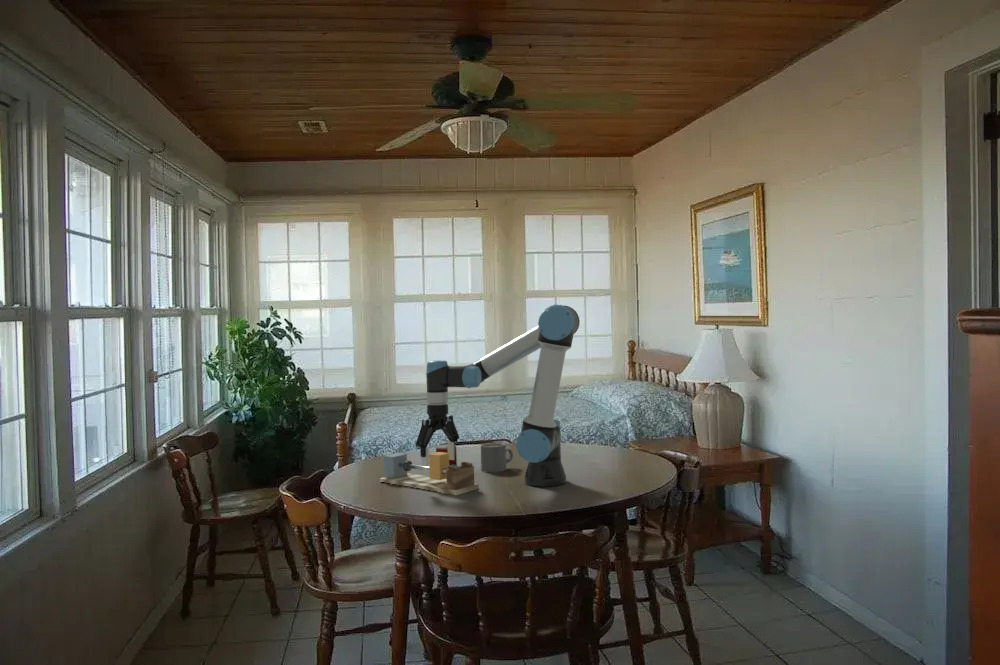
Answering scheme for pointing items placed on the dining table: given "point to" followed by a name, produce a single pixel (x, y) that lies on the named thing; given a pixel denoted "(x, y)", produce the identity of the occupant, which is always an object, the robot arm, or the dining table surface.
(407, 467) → the rail rod
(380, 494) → the dining table surface
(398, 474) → the block
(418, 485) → the rail board
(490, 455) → the coffee mug
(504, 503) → the dining table surface
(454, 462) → the canned food
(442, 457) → the tan block with hole
